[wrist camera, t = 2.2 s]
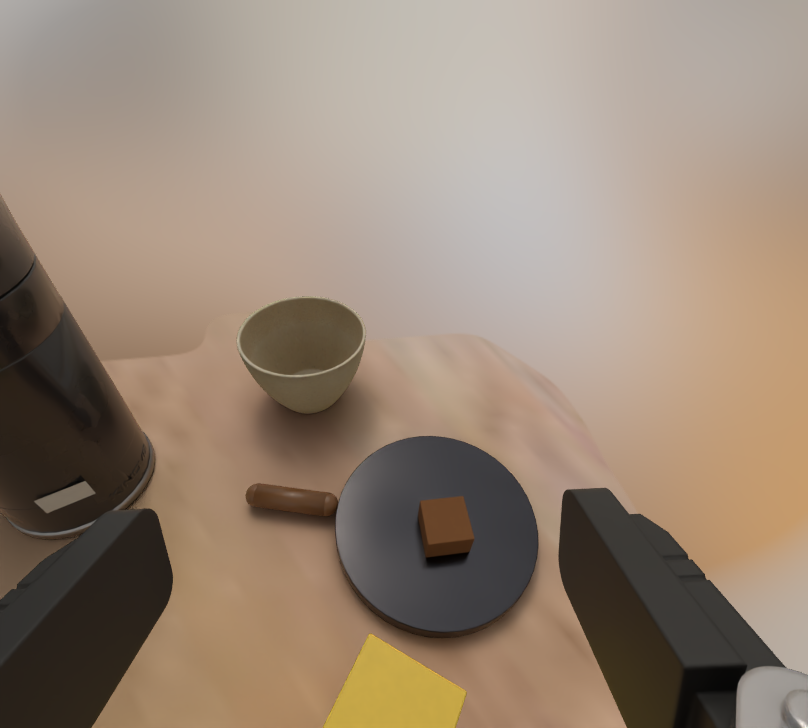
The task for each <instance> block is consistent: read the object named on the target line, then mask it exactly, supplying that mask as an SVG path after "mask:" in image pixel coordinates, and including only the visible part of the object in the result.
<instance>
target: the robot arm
mask: <svg viewBox="0 0 808 728" xmlns="http://www.w3.org/2000/svg"><path fill="white" fill-rule="evenodd" d="M154 464H155V453H154V449H153V446H152V444H151V442H150V440H149V439H148V437H147V436H146V434H145V433H144V432H143V431H142V430H141V428H140V427H139V425H138V423H137V422H136V420H135V418H134V417H133V415H132V413H131V411H130V410H129V408H128V406H127V405H126V403H125V401H124V400H123V398H122V396H121V395H120V393H119V391H118V390H117V388H116V386H115V385H114V383H113V381H112V380H111V378H110V376H109V375H108V373H107V372H106V370H105V368H104V367H103V365H102V363H101V362H100V360H99V358H98V357H97V355H96V353H95V352H94V350H93V348H92V347H91V345H90V343H89V342H88V340H87V339H86V337H85V335H84V334H83V332H82V330H81V329H80V327H79V325H78V324H77V322H76V320H75V319H74V317H73V315H72V314H71V312H70V311H69V309H68V307H67V305H66V304H65V302H64V301H63V299H62V297H61V296H60V294H59V293H58V291H57V290H56V288H55V286H54V284H53V283H52V281H51V279H50V278H49V276H48V274H47V273H46V271H45V270H44V268H43V266H42V265H41V263H40V261H39V260H38V258H37V256H36V255H35V253H34V251H33V249H32V247H31V246H30V244H29V243H28V241H27V239H26V238H25V236H24V235H23V233H22V231H21V230H20V228H19V226H18V224H17V223H16V221H15V219H14V218H13V216H12V214H11V212H10V210H9V209H8V207H7V205H6V203H5V201H4V199H3V198H2V196H1V194H0V513H1V514H3V515H4V516H5V517H6V518H7V520H8V521H9V522H10V523H11V524H12V525H13V526H14V527H15V528H17V529H18V530H19V531H21V532H22V533H24V534H26V535H28V536H31V537H35V538H40V539H61V538H67V537H72V536H75V535H79V534H82V533H83V534H82V535H81V536H80V537H78V538H77V539H75V540H74V541H72V542H71V543H69V544H68V545H66V546H64V547H63V548H61V549H60V550H58V551H57V552H55V553H53V554H52V555H50V556H49V557H47V558H46V559H44V560H43V561H42V562H40V563H39V564H38V565H37V566H36V567H35V568H34V569H33V570H32V571H31V572H30V573H29V574H28V575H27V576H26V577H24V578H23V579H22V580H21V581H20V582H19V583H18V584H17V588H16V589H12V590H11V591H9V592H8V593H7V594H6V595H5V596H4V597H3V598H2V599H1V600H0V728H92V726H93V724H94V723H95V721H96V720H97V718H98V716H99V715H100V713H101V711H102V710H103V708H104V707H105V705H106V703H107V702H108V700H109V698H110V697H111V695H112V694H113V692H114V690H115V689H116V687H117V685H118V684H119V682H120V681H121V679H122V677H123V676H124V674H125V672H126V671H127V669H128V668H129V666H130V664H131V663H132V661H133V659H134V658H135V656H136V655H137V653H138V651H139V650H140V648H141V647H142V645H143V643H144V642H145V640H146V638H147V637H148V635H149V634H150V632H151V630H152V629H153V627H154V625H155V624H156V622H157V621H158V619H159V617H160V616H161V614H162V612H163V611H164V609H165V607H166V605H167V603H168V601H169V598H170V595H171V591H172V584H173V573H172V568H171V565H170V561H169V557H168V553H167V549H166V546H165V542H164V538H163V534H162V530H161V526H160V523H159V519H158V516H157V514H156V513H155V512H154V511H153V510H152V509H131V510H125V509H126V508H127V507H128V506H129V505H130V504H131V503H132V502H133V501H134V500H135V499H136V498H137V497H138V496H139V495H140V493H141V492H142V491H143V489H144V488H145V486H146V485H147V483H148V481H149V479H150V477H151V475H152V472H153V469H154ZM559 568H560V574H561V578H562V582H563V585H564V588H565V591H566V593H567V595H568V598H569V600H570V602H571V604H572V606H573V609H574V611H575V613H576V615H577V618H578V620H579V622H580V624H581V626H582V629H583V631H584V633H585V635H586V638H587V640H588V642H589V644H590V646H591V649H592V651H593V653H594V655H595V658H596V660H597V662H598V664H599V666H600V669H601V671H602V673H603V675H604V678H605V680H606V682H607V684H608V686H609V689H610V691H611V693H612V695H613V697H614V700H615V702H616V704H617V706H618V709H619V711H620V713H621V715H622V717H623V720H624V722H625V724H626V726H627V728H808V675H807V674H804V673H801V672H798V671H795V670H792V669H788V668H786V667H785V666H784V665H783V664H782V662H781V661H780V660H779V659H778V658H777V657H776V656H775V655H774V654H773V652H772V651H771V650H770V649H769V648H768V646H767V645H766V644H765V643H764V642H763V641H762V639H761V638H759V636H758V635H757V634H756V633H755V631H754V630H753V629H752V628H751V627H750V626H749V625H748V624H747V622H746V621H745V620H744V619H743V618H742V617H741V615H740V614H739V613H738V612H737V611H736V610H735V609H734V607H733V606H732V605H731V604H730V603H729V602H728V600H727V599H726V598H725V597H724V596H723V595H722V594H721V592H720V591H719V590H718V589H717V588H716V587H715V586H714V584H713V583H712V582H711V581H710V580H706V578H705V574H704V573H703V572H702V571H701V569H700V568H699V567H698V566H697V565H696V564H695V563H694V562H693V560H689V559H688V555H687V553H686V552H685V551H684V550H683V549H682V548H681V547H680V545H679V544H678V543H677V542H676V541H675V540H674V538H673V537H672V536H671V535H670V534H669V533H668V532H667V531H665V530H663V528H661V527H659V526H658V525H656V524H655V523H653V522H652V521H650V520H649V519H647V518H646V517H644V516H643V515H641V514H628V512H627V511H626V510H625V509H624V507H623V506H622V505H621V504H620V502H619V501H618V500H617V499H616V497H615V496H614V495H613V493H612V492H611V491H610V490H609V489H607V488H593V489H572V490H566V491H565V492H564V494H563V499H562V512H561V526H560V541H559Z"/></svg>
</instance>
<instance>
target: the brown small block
mask: <svg viewBox="0 0 808 728" xmlns="http://www.w3.org/2000/svg"><path fill="white" fill-rule="evenodd" d="M418 518H419V524H420V530H421V535H422V541H423V547H424V552H425V557H433V556H441V555H449V554H457V553H465V552H470V550H471V547H472V544H473V542H474V539H475V538H474V534H473V531H472V527H471V523H470V519H469V515H468V512H467V508H466V504H465V500H464V497H463V496H459V497H450V498H440V499H431V500H422V501H420V505H419V511H418Z"/></svg>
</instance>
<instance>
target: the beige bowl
mask: <svg viewBox="0 0 808 728" xmlns="http://www.w3.org/2000/svg"><path fill="white" fill-rule="evenodd" d="M365 338H366V329H365V325H364V323H363V321H362V319H361V317H360V316H359V315H358V314H357V313H356V312H355V311H354V310H353V309H351V308H350V307H348V306H347V305H345V304H343V303H340V302H338V301H336V300H332V299H329V298H323V297H313V296H302V297H294V298H287V299H282V300H279V301H275V302H273V303H270V304H268V305H266V306H264V307H262V308H260V309H258V310H257V311H255V312H254V313H253V314H251V315H250V316H249V317H248V318H247V319H246V320H245V321H244V322H243V324H242V325H241V327H240V329H239V331H238V334H237V348H238V351H239V353H240V356H241V358H242V360H243V362H244V364H245V365H246V367H247V369H248V370H249V372H250V373H251V375H252V376H253V378H254V379H255V380H256V382H257V383H258V384H259V385H260V386H261V387H262V388H263V390H264V391H265V392H266V393H267V394H269V395H270V396H271V397H272V398H273V399H274V400H276V401H277V402H278V403H280V404H282V405H283V406H285V407H287V408H289V409H291V410H293V411H295V412H298V413H305V414H311V413H317V412H320V411H323V410H325V409H327V408H328V407H330V406H331V405H332V404H334V403H335V402H336V401H337V400H338V399H339V398H340V396H341V395H342V394H343V393H344V391H345V390H346V389H347V387H348V386H349V384H350V382H351V381H352V379H353V377H354V375H355V373H356V371H357V368H358V366H359V363H360V360H361V357H362V353H363V349H364V344H365Z"/></svg>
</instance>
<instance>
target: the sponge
mask: <svg viewBox="0 0 808 728" xmlns="http://www.w3.org/2000/svg"><path fill="white" fill-rule="evenodd" d="M466 694H467V692H466V691H465V690H464V689H462V688H460V687H459V686H457V685H455V684H454V683H452V682H450V681H449V680H447V679H445V678H444V677H442V676H440V675H439V674H437V673H435V672H434V671H432V670H430V669H429V668H427V667H425V666H424V665H422V664H420V663H419V662H417V661H416V660H414V659H412V658H411V657H409V656H407V655H406V654H404V653H402V652H401V651H399V650H397V649H396V648H394V647H392V646H391V645H389V644H387V643H386V642H384V641H382V640H381V639H379V638H377V637H376V636H374V635H372V634H369V635H368V637H367V639H366V641H365V643H364V645H363V647H362V649H361V651H360V653H359V655H358V657H357V659H356V661H355V663H354V665H353V667H352V669H351V671H350V673H349V675H348V677H347V679H346V682H345V684H344V686H343V688H342V690H341V692H340V694H339V696H338V698H337V700H336V702H335V704H334V706H333V708H332V710H331V712H330V714H329V716H328V718H327V720H326V722H325V724H324V726H323V728H456V725H457V722H458V719H459V716H460V713H461V710H462V706H463V703H464V700H465V697H466Z"/></svg>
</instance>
